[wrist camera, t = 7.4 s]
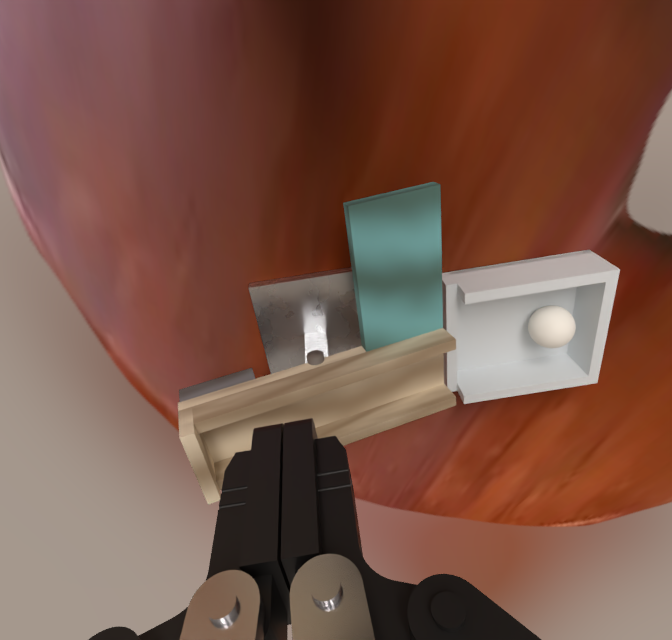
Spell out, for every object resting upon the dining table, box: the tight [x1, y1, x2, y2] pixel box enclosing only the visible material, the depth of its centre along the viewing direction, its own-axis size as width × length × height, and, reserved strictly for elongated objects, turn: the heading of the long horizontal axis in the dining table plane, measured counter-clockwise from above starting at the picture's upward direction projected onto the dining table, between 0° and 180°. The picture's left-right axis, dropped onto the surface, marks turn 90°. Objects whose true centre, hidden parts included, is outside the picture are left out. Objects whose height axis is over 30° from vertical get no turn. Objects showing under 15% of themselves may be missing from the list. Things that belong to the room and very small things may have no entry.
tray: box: [442, 250, 620, 404], centre depth 42 cm, size 12×14×4 cm
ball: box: [528, 305, 576, 348], centre depth 42 cm, size 4×4×4 cm
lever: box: [178, 182, 456, 504], centre depth 34 cm, size 20×22×6 cm
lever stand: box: [249, 267, 362, 374], centre depth 41 cm, size 16×10×6 cm, turn 8°
